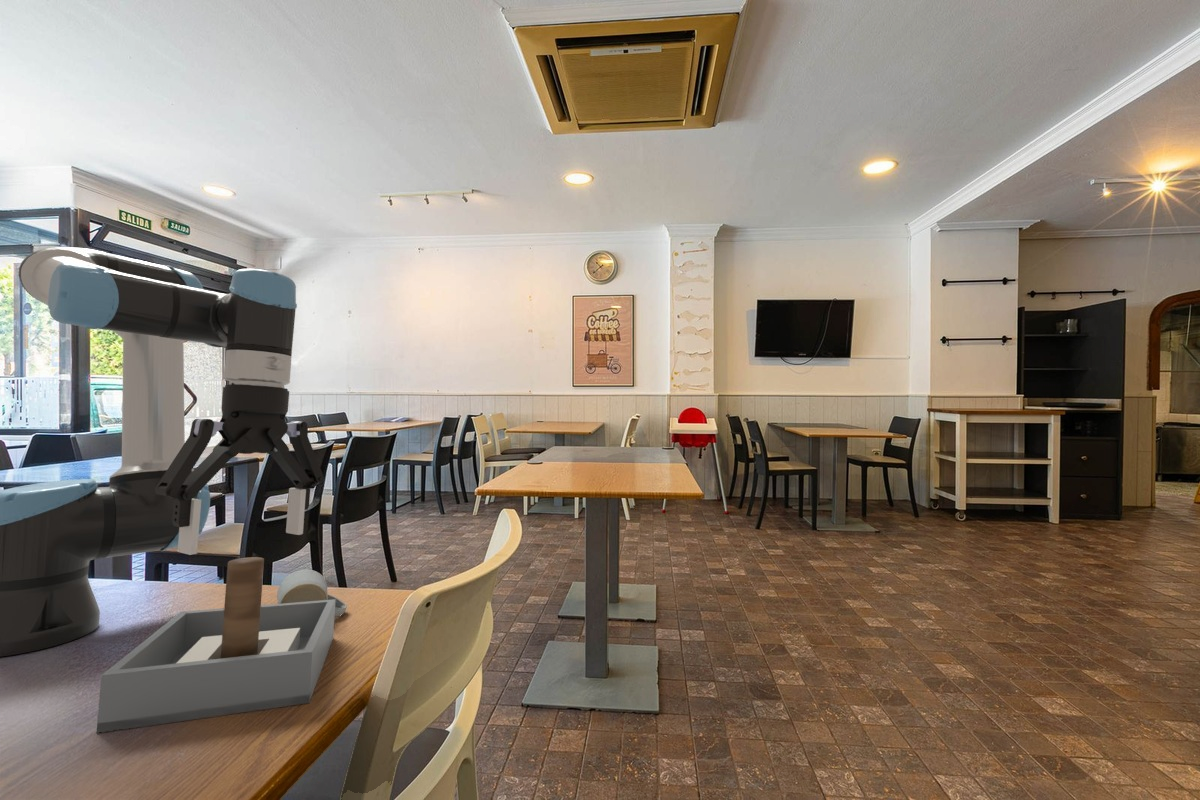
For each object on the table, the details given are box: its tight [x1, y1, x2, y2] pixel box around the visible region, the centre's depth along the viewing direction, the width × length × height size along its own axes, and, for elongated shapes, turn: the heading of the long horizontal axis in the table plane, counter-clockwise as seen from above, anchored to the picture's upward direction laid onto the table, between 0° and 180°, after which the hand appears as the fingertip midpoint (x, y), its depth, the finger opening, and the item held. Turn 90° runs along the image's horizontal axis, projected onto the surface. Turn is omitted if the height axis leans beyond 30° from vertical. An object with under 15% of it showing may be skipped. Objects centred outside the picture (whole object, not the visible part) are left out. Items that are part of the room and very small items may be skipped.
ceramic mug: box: [276, 568, 347, 618], centre depth 88 cm, size 11×8×8 cm
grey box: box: [96, 599, 336, 734], centre depth 67 cm, size 20×20×6 cm
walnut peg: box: [221, 556, 265, 659], centre depth 67 cm, size 4×4×14 cm
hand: (245, 542), depth 68 cm, fingers open, 13 cm apart
